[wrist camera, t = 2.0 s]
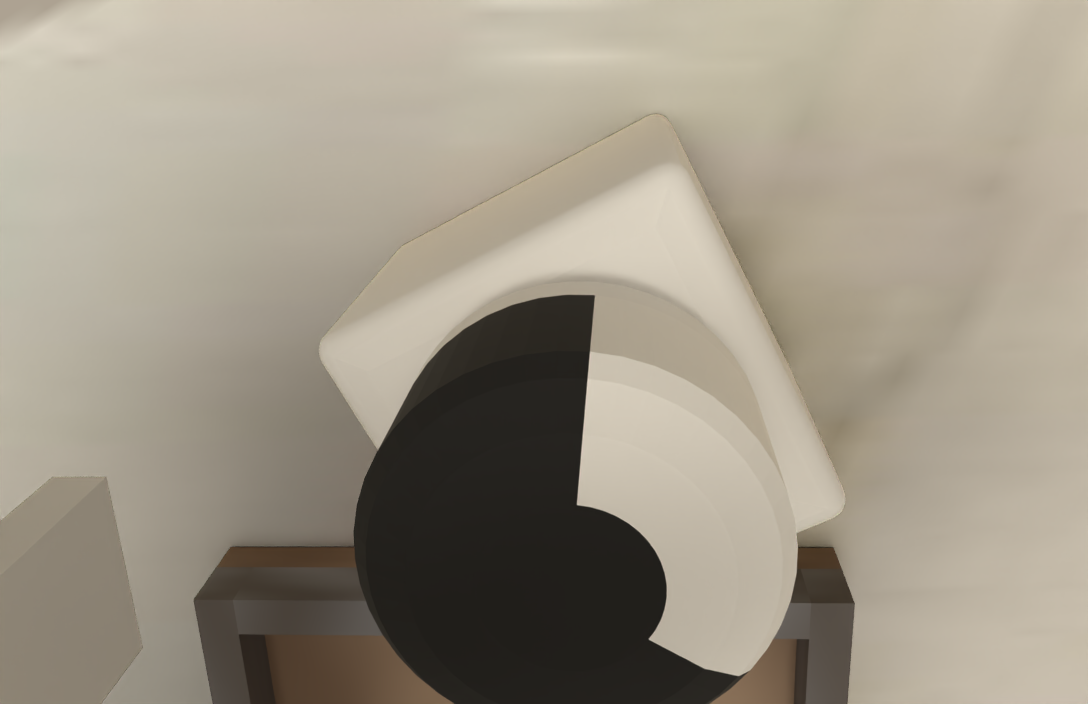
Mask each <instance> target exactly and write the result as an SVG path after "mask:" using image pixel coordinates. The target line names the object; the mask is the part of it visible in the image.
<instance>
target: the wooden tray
mask: <svg viewBox="0 0 1088 704" xmlns="http://www.w3.org/2000/svg"><path fill="white" fill-rule="evenodd" d="M194 605H195V610H196V616H197V621H198V626H199V632H200V637H201V643H202V648H203V653H204V659H205V664H206V669H207V675H208V680H209V686H210V691H211V696H212V702H213V704H454V703H453V702H451V701H449V700H448V699H446V698H445V697H443V696H442V695H440V694H439V693H437V692H436V691H435V690H434V689H432V688H431V687H430V686H429V685H428V684H426V683H425V682H424V681H423V680H421V679H420V678H419V677H418V676H417V675H416V674H415V673H414V672H413V671H412V670H411V669H410V668H409V667H408V666H407V665H406V664H405V663H404V662H403V661H402V660H401V659H400V658H399V656H398V655H397V654H396V653H395V651H394V650H393V648H392V647H391V646H390V644H389V643H388V642H387V640H386V639H385V637H384V636H383V635H382V633H381V631H380V629H379V628H378V626H377V624H376V622H375V620H374V618H373V616H372V614H371V613H370V611H369V608H368V606H367V603H366V600H365V597H364V594H363V592H362V589H361V586H360V582H359V577H358V572H357V567H356V562H355V550H354V547H230V549H229V550H228V551H227V553H226V554H225V556H224V557H223V559H222V560H221V561H220V563H219V564H218V566H217V567H216V569H215V570H214V571H213V573H212V574H211V576H210V577H209V578H208V580H207V581H206V583H205V584H204V586H203V587H202V588H201V590H200V591H199V593H198V594H197V596H196V597H195V598H194ZM854 605H855V603H854V601H853V598H852V595H851V593H850V590H849V587H848V585H847V582H846V579H845V577H844V574H843V571H842V569H841V566H840V564H839V561H838V558H837V556H836V553H835V550H834V548H798V554H797V574H796V579H795V583H794V588H793V592H792V597H791V601H790V604H789V606H788V609H787V611H786V614H785V616H784V619H783V622H782V624H781V626H780V628H779V630H778V632H777V633H776V635H775V637H774V638H773V640H772V642H771V644H770V645H769V647H768V649H767V650H766V651H765V653H764V654H763V655H762V656H761V658H760V659H759V660H758V661H757V663H756V664H755V665H754V666H753V668H752V669H751V670H750V671H749V672H748V673H747V674H746V675H745V676H744V677H743V678H742V679H740V680H739V681H738V682H737V683H736V684H735V685H734V686H733V687H732V688H731V689H730V690H728V691H727V692H725V693H724V694H723V695H721V696H720V697H718V698H717V699H715V700H714V701H713V702H711V703H710V704H847V702H848V688H849V674H850V661H851V647H852V633H853V619H854Z"/></svg>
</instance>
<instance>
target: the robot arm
mask: <svg viewBox="0 0 1088 704" xmlns="http://www.w3.org/2000/svg"><path fill="white" fill-rule="evenodd" d="M142 648H143V647H142V642H141V637H140V633H139V628H138V623H137V619H136V614H135V609H134V605H133V600H132V595H131V590H130V586H129V581H128V576H127V572H126V567H125V562H124V558H123V553H122V548H121V544H120V539H119V534H118V530H117V525H116V520H115V516H114V511H113V506H112V502H111V497H110V492H109V488H108V483H107V478H106V477H52V478H51V479H49V480H48V481H47V482H46V483H45V484H44V485H42V486H41V487H40V488H39V489H38V490H37V491H35V492H34V493H33V494H32V495H31V496H29V497H28V498H27V499H26V500H25V501H24V502H22V503H21V504H20V505H19V506H18V507H16V508H15V509H14V510H13V511H12V512H11V513H9V514H8V515H7V516H6V517H5V518H3V519H2V520H1V521H0V704H101V703H102V702H103V700H104V699H105V698H106V696H107V695H108V694H109V692H110V691H111V690H112V688H113V687H114V686H115V684H116V683H117V682H118V680H119V679H120V677H121V676H122V675H123V673H124V672H125V671H126V669H127V668H128V667H129V665H130V664H131V663H132V661H133V660H134V659H135V657H136V656H137V655H138V653H139V652H140V651H141V649H142Z"/></svg>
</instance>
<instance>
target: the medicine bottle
mask: <svg viewBox="0 0 1088 704" xmlns="http://www.w3.org/2000/svg"><path fill="white" fill-rule="evenodd" d="M319 356H320V359H321V362H322V363H323V365H324V367H325V368H326V370H327V371H328V373H329V374H330V376H331V378H332V379H333V381H334V382H335V384H336V385H337V387H338V389H339V390H340V392H341V393H342V395H343V396H344V398H345V400H346V401H347V403H348V404H349V406H350V408H351V409H352V411H353V412H354V414H355V415H356V417H357V419H358V420H359V422H360V423H361V425H362V426H363V428H364V430H365V431H366V433H367V434H368V436H369V437H370V439H371V441H372V442H373V444H374V445H375V447H376V448H377V450H378V451H377V453H376V455H375V457H374V460H373V462H372V464H371V466H370V468H369V470H368V472H367V474H366V477H365V479H364V482H363V486H362V489H361V493H360V496H359V500H358V503H357V509H356V517H355V526H354V550H355V562H356V567H357V572H358V577H359V582H360V586H361V589H362V592H363V594H364V597H365V600H366V603H367V606H368V608H369V611H370V613H371V614H372V616H373V618H374V620H375V622H376V624H377V626H378V628H379V629H380V631H381V633H382V635H383V636H384V637H385V639H386V640H387V642H388V643H389V644H390V646H391V647H392V648H393V650H394V651H395V653H396V654H397V655H398V656H399V658H400V659H401V660H402V661H403V662H404V663H405V664H406V665H407V666H408V667H409V668H410V669H411V670H412V671H413V672H414V673H415V674H416V675H417V676H418V677H419V678H420V679H421V680H423V681H424V682H425V683H426V684H428V685H429V686H430V687H431V688H432V689H434V690H435V691H436V692H437V693H439V694H440V695H442V696H443V697H445V698H446V699H448V700H449V701H451V702H453V703H454V704H710V703H711V702H713V701H714V700H715V699H717V698H718V697H720V696H721V695H723V694H724V693H725V692H727V691H728V690H730V689H731V688H732V687H733V686H734V685H735V684H736V683H737V682H738V681H739V680H740V679H742V678H743V677H744V676H745V675H746V674H747V673H748V672H749V671H750V670H751V669H752V668H753V666H754V665H755V664H756V663H757V661H758V660H759V659H760V658H761V656H762V655H763V654H764V653H765V651H766V650H767V649H768V647H769V645H770V644H771V642H772V640H773V638H774V637H775V635H776V633H777V632H778V630H779V628H780V626H781V624H782V622H783V619H784V616H785V614H786V611H787V609H788V606H789V604H790V601H791V597H792V592H793V588H794V583H795V579H796V574H797V554H798V543H797V534H796V533H798V532H801V531H803V530H806V529H808V528H811V527H813V526H816V525H818V524H820V523H823V522H825V521H828V520H830V519H833V518H834V517H836V516H837V515H839V514H840V513H841V512H842V510H843V508H844V506H845V500H846V499H845V493H844V489H843V487H842V484H841V482H840V480H839V478H838V475H837V473H836V471H835V469H834V466H833V464H832V462H831V460H830V457H829V455H828V453H827V451H826V448H825V446H824V444H823V441H822V439H821V437H820V435H819V432H818V430H817V428H816V426H815V423H814V421H813V419H812V417H811V414H810V412H809V410H808V408H807V405H806V403H805V401H804V399H803V396H802V394H801V392H800V389H799V387H798V385H797V383H796V380H795V378H794V376H793V374H792V371H791V369H790V367H789V365H788V363H787V361H786V358H785V356H784V354H783V352H782V350H781V348H780V346H779V344H778V342H777V340H776V338H775V336H774V334H773V332H772V330H771V328H770V326H769V324H768V322H767V320H766V317H765V315H764V313H763V311H762V309H761V307H760V305H759V303H758V301H757V299H756V297H755V295H754V293H753V291H752V289H751V287H750V285H749V283H748V281H747V279H746V276H745V274H744V272H743V270H742V268H741V266H740V264H739V262H738V260H737V258H736V256H735V254H734V252H733V250H732V248H731V246H730V244H729V242H728V240H727V238H726V235H725V233H724V231H723V229H722V227H721V225H720V223H719V221H718V219H717V217H716V215H715V213H714V211H713V209H712V207H711V205H710V203H709V201H708V199H707V197H706V194H705V192H704V190H703V188H702V186H701V184H700V182H699V180H698V178H697V176H696V174H695V172H694V170H693V168H692V166H691V164H690V162H689V160H688V158H687V156H686V153H685V151H684V149H683V147H682V145H681V143H680V141H679V139H678V137H677V135H676V133H675V131H674V129H673V127H672V125H671V123H670V122H669V121H668V119H667V118H666V117H665V116H662V115H659V114H654V115H649V116H647V117H645V118H643V119H641V120H639V121H637V122H635V123H633V124H631V125H630V126H628V127H626V128H624V129H622V130H620V131H618V132H616V133H614V134H613V135H611V136H609V137H607V138H605V139H603V140H601V141H599V142H597V143H595V144H594V145H592V146H590V147H588V148H586V149H584V150H582V151H580V152H578V153H577V154H575V155H573V156H571V157H569V158H567V159H565V160H563V161H561V162H560V163H558V164H556V165H554V166H552V167H550V168H548V169H546V170H544V171H543V172H541V173H539V174H537V175H535V176H533V177H531V178H529V179H527V180H525V181H524V182H522V183H520V184H518V185H516V186H514V187H512V188H510V189H508V190H507V191H505V192H503V193H501V194H499V195H497V196H495V197H493V198H491V199H490V200H488V201H486V202H484V203H482V204H480V205H478V206H476V207H474V208H473V209H471V210H469V211H467V212H465V213H463V214H461V215H459V216H457V217H455V218H454V219H452V220H450V221H448V222H446V223H444V224H442V225H440V226H438V227H437V228H435V229H433V230H431V231H429V232H427V233H425V234H423V235H421V236H420V237H418V238H416V239H414V240H412V241H410V242H408V243H406V244H404V245H403V246H402V247H401V248H400V249H399V250H398V251H397V252H396V253H395V254H394V255H393V256H392V257H391V259H390V260H389V261H388V262H387V263H386V264H385V266H384V267H383V268H382V269H381V270H380V271H379V273H378V274H377V275H376V276H375V277H374V278H373V280H372V281H371V282H370V283H369V284H368V285H367V287H366V288H365V289H364V290H363V291H362V292H361V293H360V295H359V296H358V297H357V298H356V299H355V300H354V302H353V303H352V304H351V305H350V306H349V307H348V309H347V310H346V311H345V312H344V313H343V314H342V316H341V317H340V318H339V319H338V320H337V321H336V323H335V324H334V325H333V326H332V327H331V328H330V330H329V331H328V332H327V333H326V334H325V335H324V337H323V338H322V339H321V342H320V346H319Z"/></svg>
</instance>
